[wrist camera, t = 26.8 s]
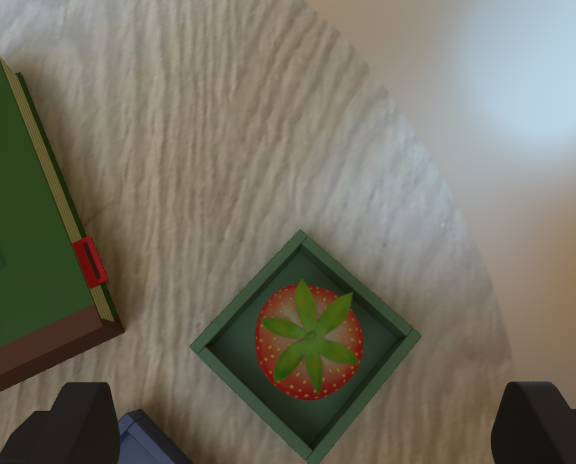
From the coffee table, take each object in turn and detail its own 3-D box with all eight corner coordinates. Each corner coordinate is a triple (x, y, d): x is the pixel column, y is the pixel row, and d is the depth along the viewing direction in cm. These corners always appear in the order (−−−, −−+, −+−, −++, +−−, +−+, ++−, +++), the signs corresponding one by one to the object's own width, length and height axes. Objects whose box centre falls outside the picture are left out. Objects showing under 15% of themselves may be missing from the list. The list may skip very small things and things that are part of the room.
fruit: (367, 351, 27) (405, 344, 20) (297, 414, 26) (307, 432, 19) (306, 279, 28) (318, 244, 21) (236, 336, 27) (221, 323, 20)
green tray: (409, 338, 28) (422, 335, 26) (310, 460, 26) (314, 469, 24) (297, 240, 30) (300, 228, 27) (196, 349, 28) (188, 346, 25)
